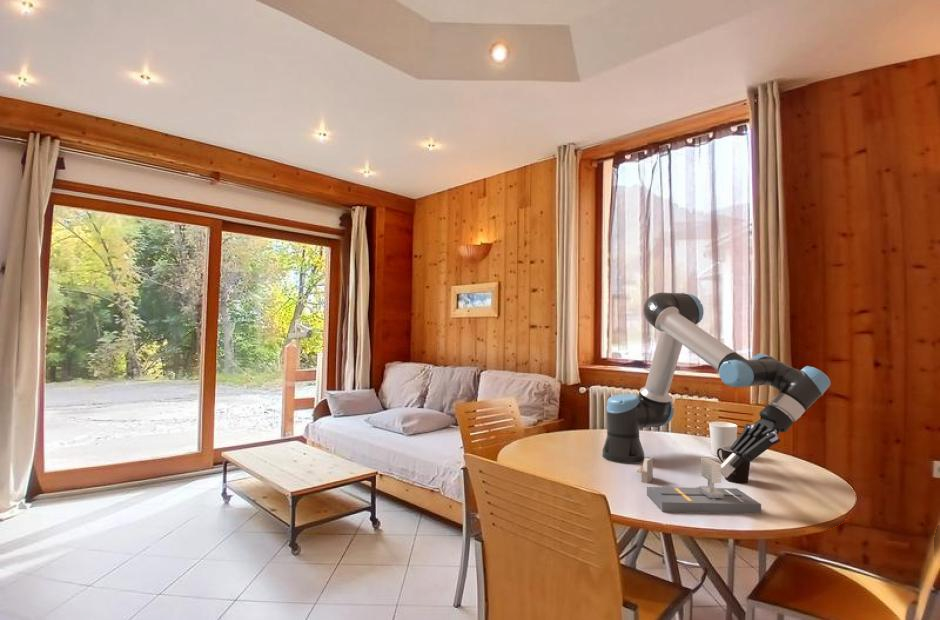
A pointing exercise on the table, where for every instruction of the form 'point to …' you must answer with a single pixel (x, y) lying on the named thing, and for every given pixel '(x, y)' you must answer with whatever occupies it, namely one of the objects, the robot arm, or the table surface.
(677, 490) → the console
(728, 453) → the coffee mug
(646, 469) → the architectural model
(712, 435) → the candle holder
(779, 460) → the table surface
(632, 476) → the table surface
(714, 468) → the fader
